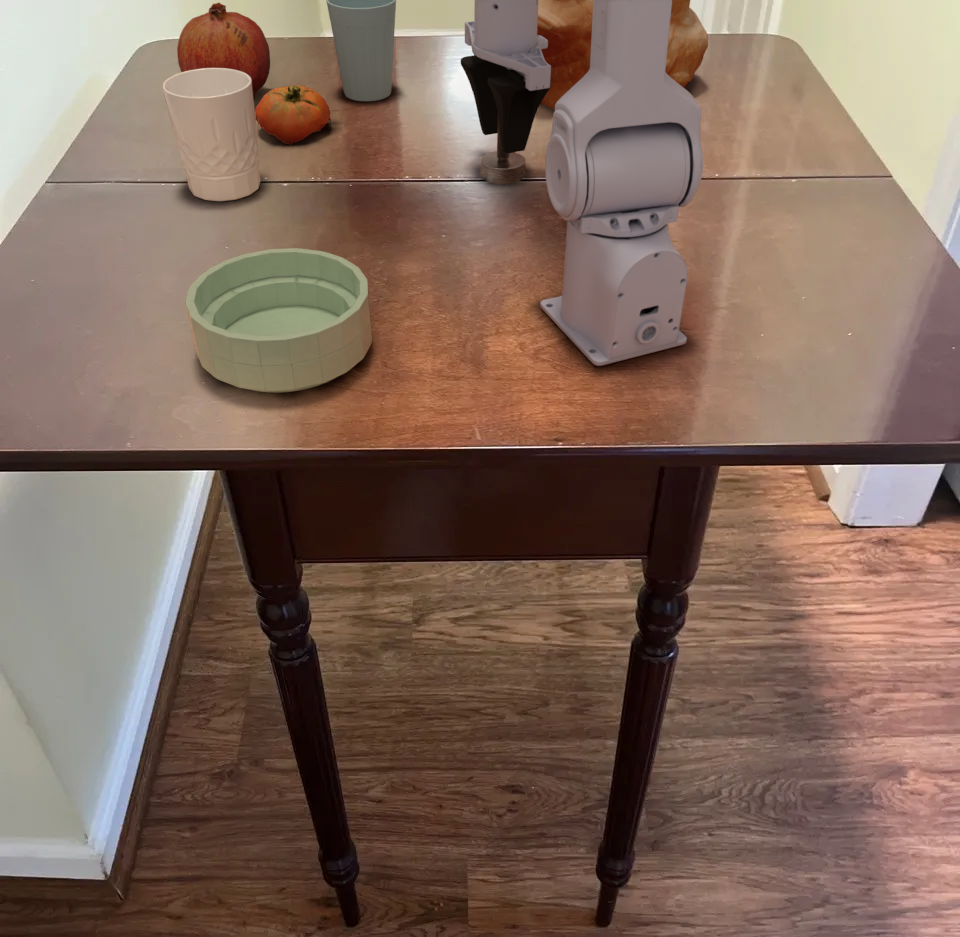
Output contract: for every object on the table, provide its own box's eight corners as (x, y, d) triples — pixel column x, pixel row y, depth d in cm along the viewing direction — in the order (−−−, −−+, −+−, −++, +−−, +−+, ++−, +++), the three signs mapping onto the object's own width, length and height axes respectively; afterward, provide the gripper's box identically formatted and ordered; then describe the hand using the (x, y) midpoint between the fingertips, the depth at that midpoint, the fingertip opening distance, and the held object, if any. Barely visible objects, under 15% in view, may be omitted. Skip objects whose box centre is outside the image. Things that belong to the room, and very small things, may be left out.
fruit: (294, 97, 112) (283, 5, 105) (222, 120, 106) (206, 25, 100) (239, 75, 117) (226, -13, 111) (169, 96, 112) (150, 4, 105)
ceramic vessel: (478, 89, 114) (478, -51, 104) (659, 58, 123) (675, -74, 113) (536, 129, 105) (542, -20, 95) (727, 91, 114) (751, -48, 104)
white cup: (185, 209, 89) (163, 101, 83) (182, 174, 95) (161, 71, 89) (270, 199, 91) (255, 93, 85) (262, 166, 97) (247, 64, 90)
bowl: (396, 375, 69) (393, 315, 66) (219, 418, 65) (206, 357, 62) (342, 292, 78) (337, 235, 75) (184, 325, 74) (171, 267, 71)
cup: (413, 96, 112) (408, 0, 105) (355, 110, 109) (347, 12, 102) (380, 78, 117) (374, -15, 110) (324, 90, 114) (314, -5, 107)
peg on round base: (532, 180, 95) (536, 85, 89) (491, 187, 93) (493, 91, 87) (513, 163, 98) (515, 70, 92) (473, 170, 97) (473, 76, 91)
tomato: (249, 134, 99) (255, 65, 99) (254, 157, 106) (260, 92, 106) (327, 145, 100) (333, 76, 100) (327, 167, 107) (333, 103, 107)
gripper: (586, 7, 81) (574, 162, 90) (512, -34, 91) (508, 110, 100) (510, 16, 79) (506, 175, 87) (443, -26, 89) (446, 120, 98)
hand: (503, 141), depth 93 cm, fingers open, 4 cm apart
